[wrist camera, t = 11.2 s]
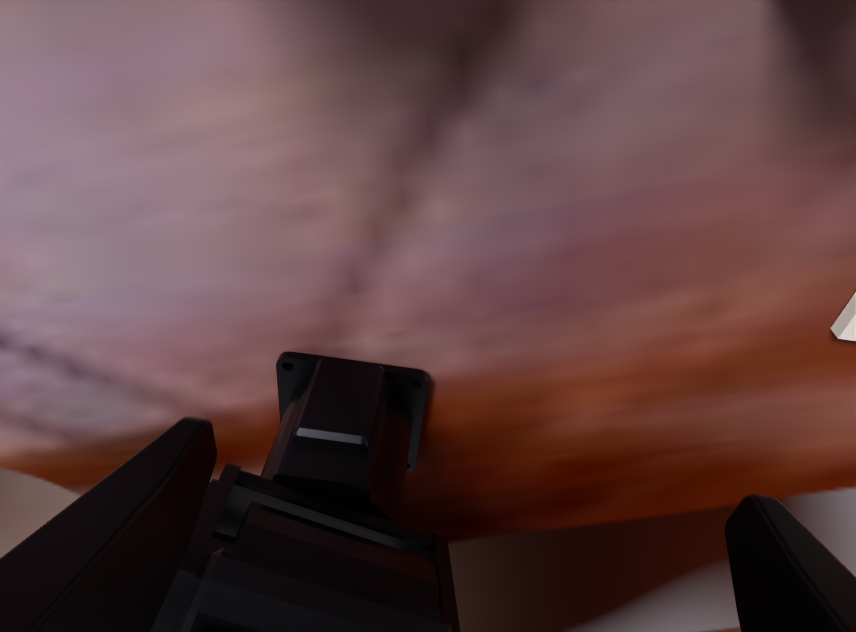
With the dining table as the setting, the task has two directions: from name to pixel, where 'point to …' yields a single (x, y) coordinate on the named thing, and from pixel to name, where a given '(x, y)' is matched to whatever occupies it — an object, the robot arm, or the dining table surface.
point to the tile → (846, 322)
